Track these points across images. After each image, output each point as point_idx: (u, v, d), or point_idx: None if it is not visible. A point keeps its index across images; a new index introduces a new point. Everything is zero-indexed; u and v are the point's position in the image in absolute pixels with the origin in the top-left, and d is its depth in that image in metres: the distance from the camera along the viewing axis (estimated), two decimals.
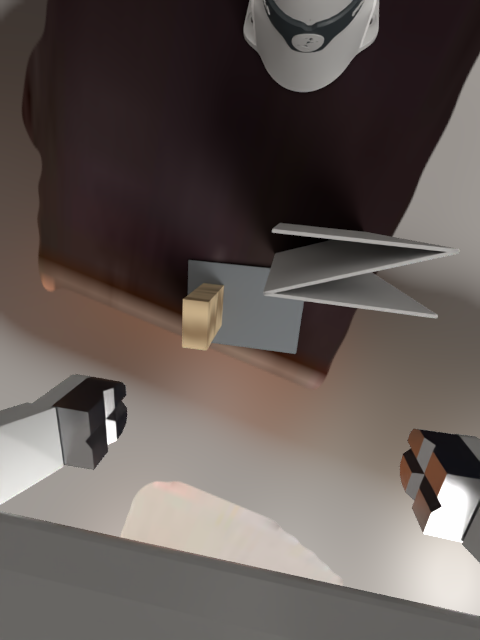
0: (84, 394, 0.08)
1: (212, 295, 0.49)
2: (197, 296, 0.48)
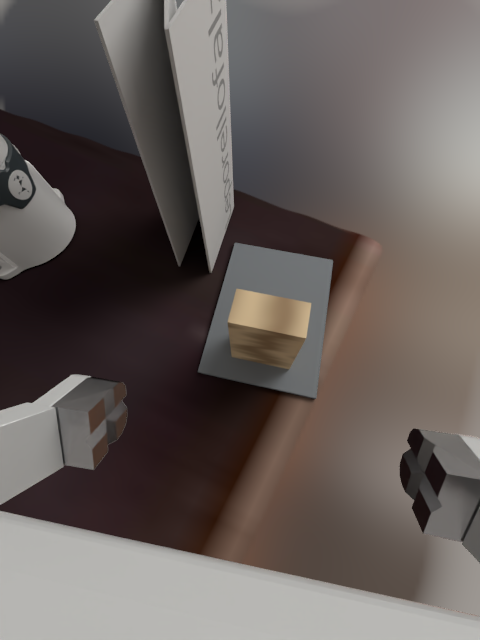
0: (84, 394, 0.08)
1: None
2: None
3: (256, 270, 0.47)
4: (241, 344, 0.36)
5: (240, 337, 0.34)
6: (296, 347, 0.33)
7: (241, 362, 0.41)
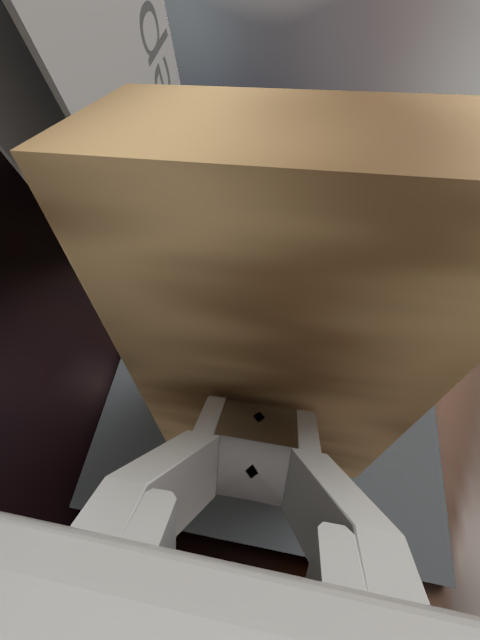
0: (237, 419, 0.07)
1: None
2: None
3: None
4: (176, 377, 0.08)
5: (151, 324, 0.07)
6: (464, 348, 0.06)
7: None
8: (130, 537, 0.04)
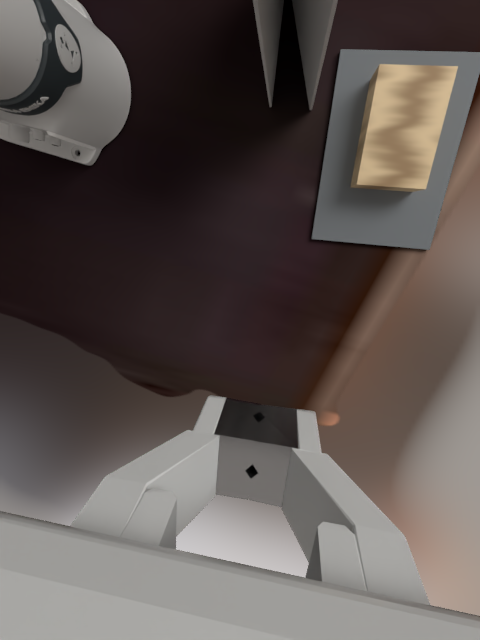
0: (236, 419, 0.07)
1: (363, 117, 0.38)
2: (370, 95, 0.35)
3: None
4: (380, 126, 0.35)
5: (383, 102, 0.34)
6: (444, 99, 0.33)
7: (354, 223, 0.42)
8: (130, 537, 0.04)
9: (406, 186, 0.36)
